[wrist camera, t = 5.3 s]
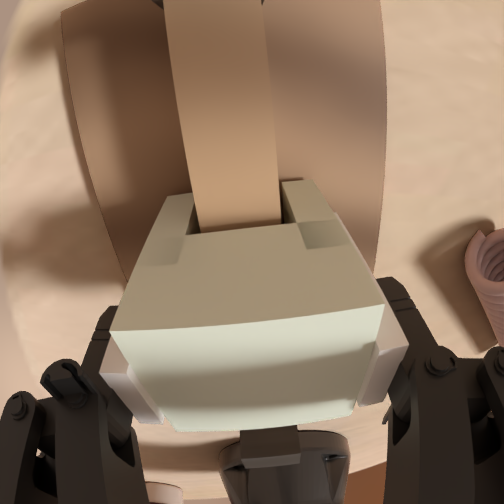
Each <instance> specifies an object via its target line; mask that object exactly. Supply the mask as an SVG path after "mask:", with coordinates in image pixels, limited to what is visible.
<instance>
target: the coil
mask: <svg viewBox="0 0 504 504" xmlns="http://www.w3.org/2000/svg"><path fill="white" fill-rule="evenodd" d="M465 269H466V273H467V276H468V278H469V280H470V282H471V283H472V286H473V288H474V290H475V291H476V294H477V296H478V298H479V300H480V302H481V304H482V306H483V309H484V311H485V313H486V315H487V317H488V320H489V322H490V324H491V326H492V329H493V331H494V334H495V336H496V339H497V341H498V343H499V346H502V347H504V228H503V229H499V230H495V231H493V232H491V233H490V234H489V235H487V236H486V237H485V235H484V234H483V233H482V232H481V231H480V230H478V232H477V233H476V234H475V235H474V236H473V237H472V239H471V240H470V242H469V244H468V246H467V249H466V253H465Z"/></svg>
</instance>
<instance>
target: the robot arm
mask: <svg viewBox="0 0 504 504" xmlns="http://www.w3.org/2000/svg"><path fill="white" fill-rule="evenodd" d="M334 214H335V216H336V217H337V219H338V220H339V222H340V224H341V225H342V227H343V229H344V231H345V232H346V234H347V236H348V237H349V239H350V241H351V242H352V244H353V246H354V248H355V249H356V251H357V253H358V255H359V256H360V258H361V260H362V262H363V264H364V265H365V267H366V269H367V271H368V273H369V274H370V276H371V278H372V280H373V282H374V284H375V285H376V287H377V289H378V291H379V293H380V295H381V297H382V299H383V301H384V303H385V306H384V311H383V315H382V318H381V322H380V326H379V330H378V334H377V337H376V341H375V344H374V348H373V351H372V354H371V358H370V361H369V364H368V367H367V371H366V374H365V377H364V380H363V383H362V386H361V389H360V391H359V394H358V397H357V402H358V406H359V407H362V406H367V405H371V404H375V403H379V402H383V400H384V399H385V397H386V395H387V393H388V394H389V397H390V400H391V403H392V404H391V406H390V407H389V409H388V411H387V413H386V414H385V416H384V418H383V422H382V424H386V422H387V421H388V449H387V467H386V480H385V492H384V501H383V504H504V347H502V346H497V347H493V348H491V349H490V350H488V352H487V353H486V355H485V357H484V358H483V359H476V358H457V356H456V355H455V354H454V353H453V352H452V351H451V350H449V349H447V348H446V347H444V346H438V344H437V343H436V341H435V339H434V337H433V336H432V334H431V332H430V330H429V328H428V327H427V325H426V323H425V321H424V319H423V318H422V316H421V314H420V313H419V311H418V309H416V306H415V304H414V302H413V301H412V299H410V296H409V294H408V292H407V291H406V289H405V287H404V286H403V285H402V284H401V283H399V282H398V281H397V280H396V279H394V278H393V277H385V278H379V279H375V277H374V275H373V274H372V272H371V270H370V268H369V267H368V265H367V263H366V261H365V260H364V258H363V256H362V254H361V253H360V251H359V249H358V247H357V246H356V244H355V242H354V241H353V239H352V237H351V236H350V234H349V232H348V231H347V229H346V227H345V226H344V224H343V223H342V221H341V219H340V218H339V216H338V214H337V213H334ZM117 309H118V306H109V307H108V308H107V310H106V311H105V312H104V313H103V314H102V315H101V316H100V318H99V321H98V323H97V326H96V328H95V331H94V333H93V336H92V338H91V339H92V341H90V343H89V346H88V349H87V351H86V354H85V357H84V360H83V362H82V365H81V367H80V365H79V364H78V363H77V362H76V361H74V360H72V359H61V360H58V361H56V362H54V363H53V364H51V365H50V366H49V367H48V368H47V369H46V370H45V372H44V373H43V375H42V377H41V381H40V383H41V385H42V386H43V387H44V388H45V389H46V390H47V391H48V392H49V393H50V394H51V395H52V396H53V397H50V398H45V399H40V400H36V399H35V398H34V397H33V396H32V395H31V394H30V393H29V392H26V391H19V392H17V393H15V394H13V395H12V396H11V397H10V398H9V399H8V401H7V403H6V405H5V407H4V410H3V413H2V416H1V419H0V504H150V502H149V498H148V493H147V489H146V484H145V480H144V475H143V470H142V464H141V459H140V453H139V448H138V441H137V435H136V433H135V430H134V429H133V428H132V427H131V423H132V417H133V416H134V417H135V418H136V419H137V420H138V421H139V423H145V424H163V423H164V415H163V413H162V412H161V411H160V409H159V408H158V406H157V405H156V404H155V402H154V401H153V399H152V398H151V397H150V395H149V394H148V392H147V391H146V389H145V388H144V386H143V385H142V383H141V382H140V380H139V379H138V377H137V376H136V374H135V372H134V371H133V369H132V368H131V366H130V364H128V362H127V360H126V359H125V357H124V356H123V354H122V352H121V351H120V349H119V347H118V346H117V344H116V342H115V341H114V339H113V337H112V335H111V334H110V332H109V330H110V327H111V325H112V322H113V319H114V317H115V314H116V311H117ZM491 411H492V412H491ZM298 436H299V443H300V451H301V457H300V463H299V464H291V465H283V466H273V467H262V468H247V469H245V467H244V465H243V463H242V461H241V453H240V442H238V443H235V444H233V445H230V446H228V447H226V448H225V449H223V450H222V451H221V452H220V454H219V473H220V476H221V479H222V481H223V484H224V486H225V489H226V492H227V494H228V497H229V499H230V502H231V504H344V495H345V490H346V484H347V478H348V472H349V465H350V450H349V445H348V441H347V439H346V438H345V437H344V436H342V435H340V434H336V433H331V432H298ZM37 448H38V449H39V450H40V451H41V453H40V455H39V456H36V453H37Z"/></svg>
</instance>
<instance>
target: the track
mask: <svg viewBox="0 0 504 504" xmlns="http://www.w3.org/2000/svg"><path fill="white" fill-rule="evenodd" d="M61 23H62V34H63V43H64V52H65V59H66V66H67V73H68V79H69V85H70V91H71V96H72V102H73V107H74V112H75V116H76V121H77V125H78V130H79V134H80V138H81V142H82V147H83V150H84V154H85V158H86V162H87V166H88V169H89V173H90V176H91V180H92V183H93V187H94V190H95V193H96V196H97V200H98V203H99V206H100V209H101V212H102V215H103V218H104V221H105V224H106V227H107V230H108V233H109V236H110V238H111V241H112V244H113V247H114V249H115V252H116V255H117V257H118V260H119V262H120V265H121V268H122V270H123V273H124V275H125V278H126V280H127V283H128V281H129V279H130V276H131V274H132V272H133V269H134V267H135V265H136V262H137V260H138V258H139V256H140V253H141V251H142V249H143V247H144V244H145V242H146V240H147V238H148V236H149V233H150V231H151V229H152V227H153V225H154V223H155V221H156V219H157V216H158V214H159V212H160V210H161V208H162V206H163V204H164V202H165V200H166V198H167V196H172V195H179V194H186V193H193V196H194V201H195V206H196V211H197V216H198V221H199V226H200V230H201V233H210V232H218V231H227V230H235V229H244V228H253V227H262V226H272V225H281V224H284V212H283V195H282V182H288V181H299V180H311V179H313V181H314V182H315V184H316V185H317V187H318V188H319V190H320V192H321V193H322V195H323V196H324V198H325V199H326V201H327V203H328V204H329V206H330V207H331V209H332V211H333V212H334V213H337V214H338V216H339V218H340V219H341V221H342V223H343V224H344V226H345V227H346V229H347V231H348V232H349V234H350V236H351V237H352V239H353V241H354V242H355V244H356V246H357V247H358V249H359V251H360V253H361V254H362V256H363V258H364V260H365V261H366V263H367V265H368V267H369V268H370V270H371V272H372V274H373V271H374V265H375V258H376V252H377V244H378V237H379V229H380V220H381V211H382V200H383V189H384V176H385V159H386V133H387V85H386V60H385V45H384V33H383V22H382V13H381V5H380V0H86V1H84V2H82V3H79V4H77V5H75V6H73V7H70V8H68V9H66V10H64V11H62V12H61ZM240 453H241V461H242V463H243V465H244V467H245V469H247V468H262V467H273V466H283V465H291V464H299V463H300V457H301V451H300V443H299V436H298V429H297V425H291V426H282V427H273V428H263V429H251V430H240Z"/></svg>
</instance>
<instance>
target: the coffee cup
mask: <svg viewBox="0 0 504 504" xmlns="http://www.w3.org/2000/svg"><path fill="white" fill-rule="evenodd" d="M145 484H146V489H147V493H148V498H149V502H150V504H183V491H182V489H181V488H179V487H176V486H172V485H167V484H162V483H145Z"/></svg>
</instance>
